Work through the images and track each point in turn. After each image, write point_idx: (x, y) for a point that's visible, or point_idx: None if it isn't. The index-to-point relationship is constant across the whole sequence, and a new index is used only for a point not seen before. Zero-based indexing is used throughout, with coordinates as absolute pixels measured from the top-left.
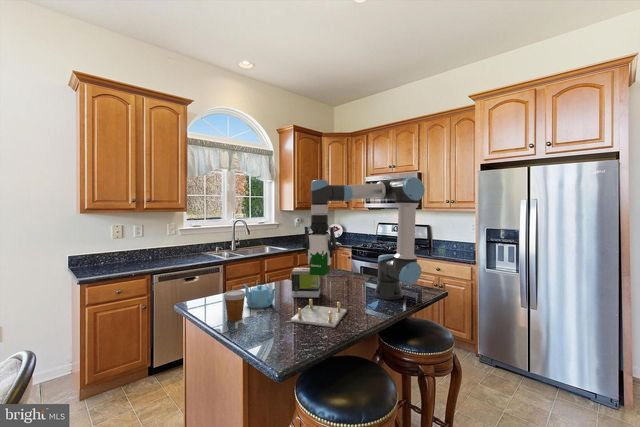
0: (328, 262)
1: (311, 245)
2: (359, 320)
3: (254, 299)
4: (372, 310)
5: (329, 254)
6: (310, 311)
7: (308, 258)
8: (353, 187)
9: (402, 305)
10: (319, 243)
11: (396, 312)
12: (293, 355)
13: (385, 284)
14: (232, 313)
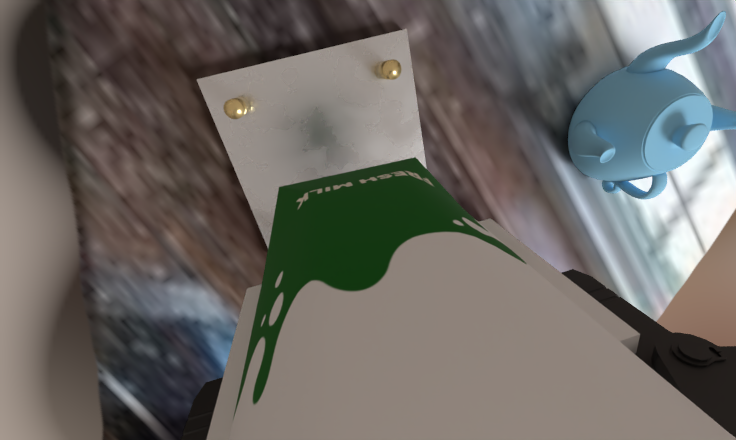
0: (250, 307)
1: (663, 393)
2: (170, 207)
3: (648, 73)
4: (200, 316)
5: (223, 413)
6: (382, 159)
7: (521, 249)
8: None
9: (145, 407)
10: None
11: (114, 348)
12: None
13: None
14: None
